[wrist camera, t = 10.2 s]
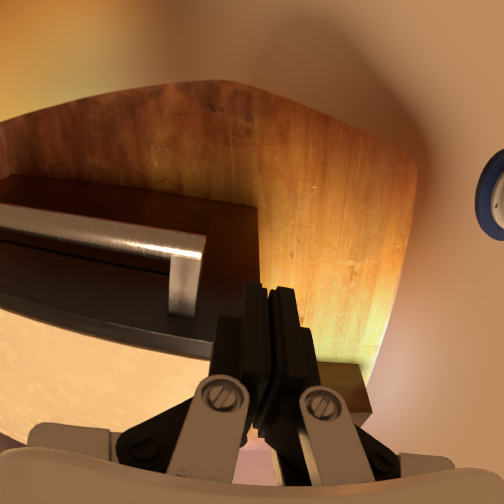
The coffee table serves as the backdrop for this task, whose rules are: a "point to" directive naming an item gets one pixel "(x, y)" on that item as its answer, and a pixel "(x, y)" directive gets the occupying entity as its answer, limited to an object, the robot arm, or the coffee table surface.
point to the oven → (85, 377)
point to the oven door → (125, 260)
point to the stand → (347, 388)
